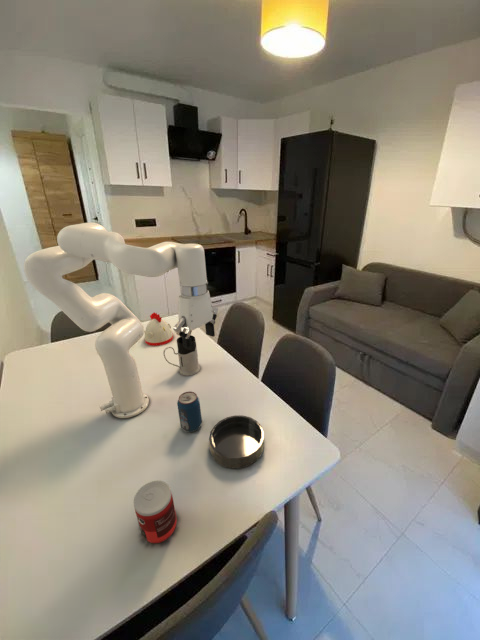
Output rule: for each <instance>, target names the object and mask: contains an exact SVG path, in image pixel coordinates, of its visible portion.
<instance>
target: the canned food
mask: <svg viewBox="0 0 480 640" xmlns="http://www.w3.org/2000/svg"><path fill="white" fill-rule="evenodd" d="M133 497H134V499H133V509H134V513H135V515H136V519H137V522H138V526H139V529H140V532H141V536H142V538H143V539H144V540H145V541H147V542H148V543H150V544H160V543H163V542H165V541H167V540H168V539H169V538H170V537H171V536H172V535H173V533H174V531H176V527H177V522H178V520H177V519H178V518H177V512H176V508H175V502H174V497H173V493H172V489H171V486H170V485H169V484H168V483H167V482H165V481H162V480H153V481H150V482H147V483H145V484H144V485H142V486H141V487H140V488H139V489H138V491H137V492H136V493H135V495H134V496H133Z"/></svg>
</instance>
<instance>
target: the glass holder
mask: <svg viewBox="0 0 480 640" xmlns="http://www.w3.org/2000/svg"><path fill="white" fill-rule="evenodd" d="M190 337H191V339H192V347H193V349H192V350H189V349H186V348H184V347H183V340H182V337H180V336H179V337H178V338H176V347H177V352H175V349H174V348H173V347H172V346H166V347H165V348H164V350H163V353H162V355H163V357H164V359H165V362H167V363H168V364H169V365H172V366H173V367H174V366H175V367H177V368H179V373H180V374H181V375H182V376H193V375H195V374H197V373H199V371H200V370H201V366H200V365H199V355H198V348H197V341H196V337H195V336H194V335H192V334H191V335H190ZM168 349H171V350H172V351H173V354H174V355H177V356H178V362H179V365H177V364H175V363H172V362H170V361H169V360H168V359H167V358H166V355H165V352H166V350H168Z"/></svg>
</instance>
